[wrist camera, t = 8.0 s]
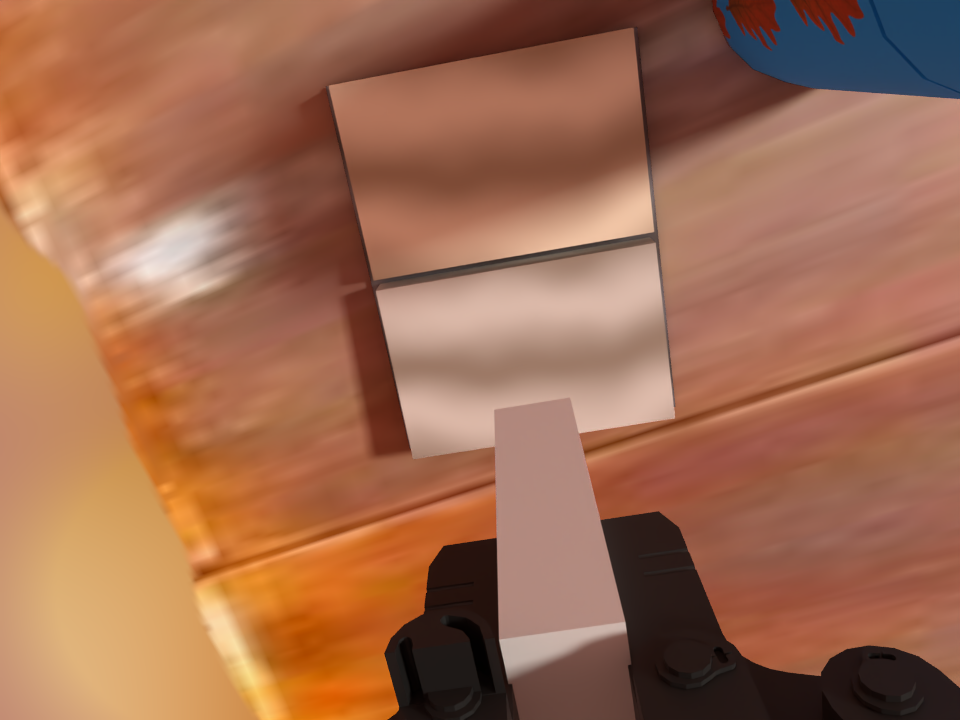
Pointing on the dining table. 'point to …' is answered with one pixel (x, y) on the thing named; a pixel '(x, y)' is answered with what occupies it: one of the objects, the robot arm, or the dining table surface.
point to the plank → (529, 343)
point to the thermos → (849, 43)
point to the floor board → (499, 158)
